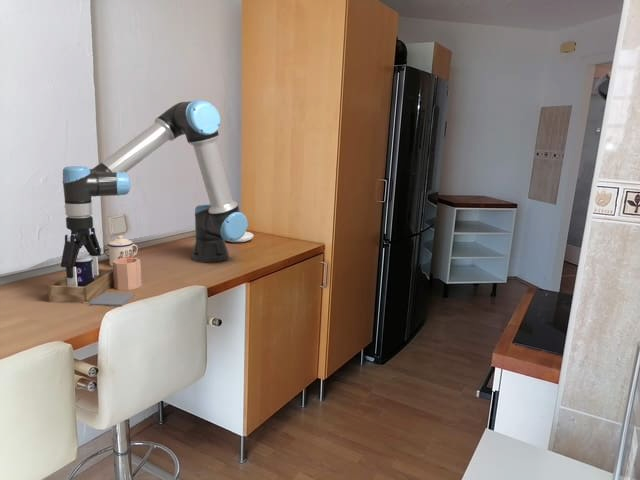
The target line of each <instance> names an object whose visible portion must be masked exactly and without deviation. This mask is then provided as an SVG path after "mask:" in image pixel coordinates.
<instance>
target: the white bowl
mask: <svg viewBox="0 0 640 480" xmlns="http://www.w3.org/2000/svg"><path fill="white" fill-rule="evenodd" d="M253 238H254V234H253V233H252V232H251V231H246V232H245V234H244V235H243V237H241V238H240V239H238V240H236V241H230V240H225V239H224V241H225V242H226V241H227V242H229V243H244V242H248V241H250V240H253Z"/></svg>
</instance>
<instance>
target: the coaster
mask: <svg viewBox="0 0 640 480" xmlns="http://www.w3.org/2000/svg"><path fill="white" fill-rule="evenodd" d="M135 296H136V294H135V293H126V292H125V293H119V292H103V293H102V294H100V295H99V296H97V297H96V298H94V299H93V300H91V301H90V302H88V303H87V305H88V304H90V305H89V306H92V305H109V306H108V307H123V306H124V305H125V304H126V303H127V302H129V301H130V300H131V299H133V298H134V297H135ZM132 297H133V298H132ZM122 305H123V306H122Z"/></svg>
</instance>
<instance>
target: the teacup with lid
mask: <svg viewBox="0 0 640 480" xmlns="http://www.w3.org/2000/svg"><path fill="white" fill-rule="evenodd" d="M116 237H117V238H114V239H113V240H110V241H109V242H108V244H107V245H108V253H109V254H108V255H109V265H110V266H111V267H112V268H113V261H115V260H116V259H121V258H134V257H135V256H136V255H137V253H138V250H139V248H138V245H137V244H136V243H135V244H134V242H133V240H131V239H127V238H125V237H124V236H123V235H118V236H116ZM133 247H134V248H133Z"/></svg>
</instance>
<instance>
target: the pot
mask: <svg viewBox="0 0 640 480" xmlns="http://www.w3.org/2000/svg"><path fill="white" fill-rule="evenodd" d="M141 267H142V266H141V259H140V258H137V257H133V258H121V259H116V260H115V261H113V267H112V269H113V275H114V285H113V287H114V289H115V290H117V291H131V290H137V289H139V288H140V287H141V286H142V270H141V269H142V268H141Z"/></svg>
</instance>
